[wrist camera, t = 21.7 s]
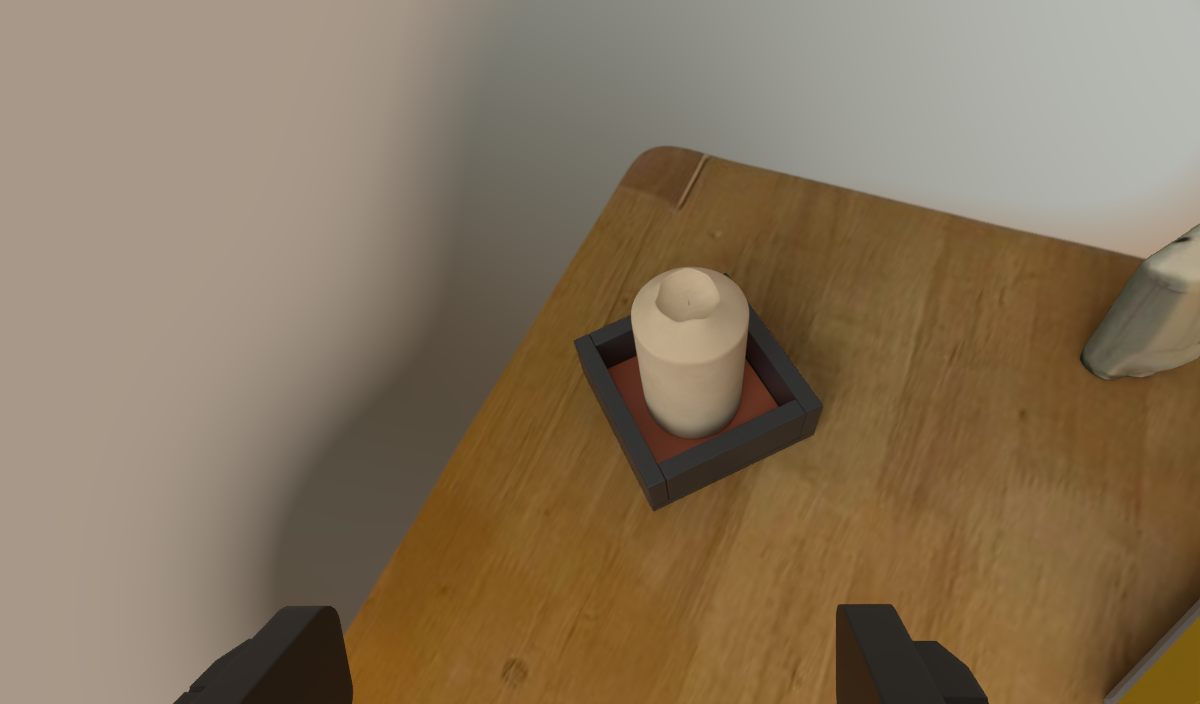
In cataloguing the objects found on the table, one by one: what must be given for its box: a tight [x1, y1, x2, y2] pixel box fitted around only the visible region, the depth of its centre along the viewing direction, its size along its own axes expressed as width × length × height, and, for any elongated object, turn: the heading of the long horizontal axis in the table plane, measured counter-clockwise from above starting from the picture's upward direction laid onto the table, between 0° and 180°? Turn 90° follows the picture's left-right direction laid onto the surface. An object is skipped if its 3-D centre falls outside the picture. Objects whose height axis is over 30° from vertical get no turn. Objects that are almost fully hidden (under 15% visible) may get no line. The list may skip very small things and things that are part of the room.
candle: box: [631, 267, 749, 439], centre depth 33 cm, size 6×6×10 cm
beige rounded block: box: [1080, 224, 1200, 380], centre depth 33 cm, size 6×5×8 cm
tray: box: [574, 273, 823, 511], centre depth 37 cm, size 10×10×4 cm
